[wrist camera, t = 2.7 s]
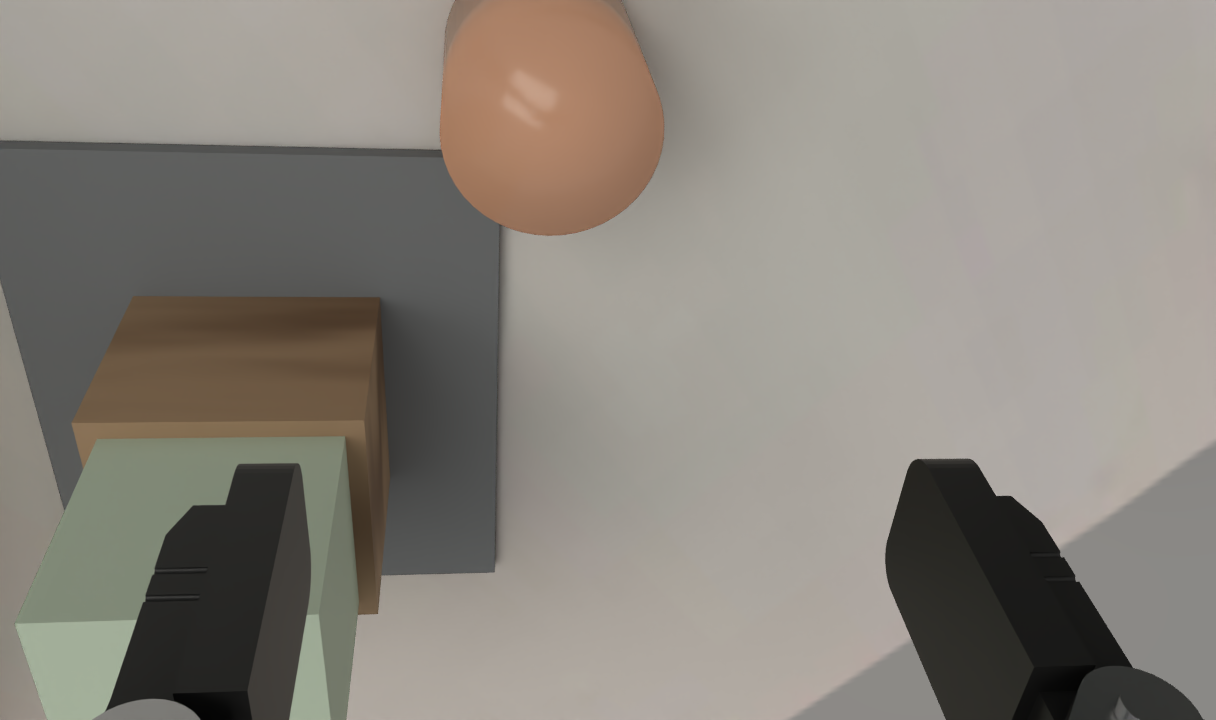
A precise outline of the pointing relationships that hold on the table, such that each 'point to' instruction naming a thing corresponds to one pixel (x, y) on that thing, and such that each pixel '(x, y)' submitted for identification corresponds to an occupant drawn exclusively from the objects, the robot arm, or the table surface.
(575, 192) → the tan rounded cylinder
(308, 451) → the top block
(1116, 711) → the robot arm
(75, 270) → the mat
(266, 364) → the bottom block
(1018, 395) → the table surface
